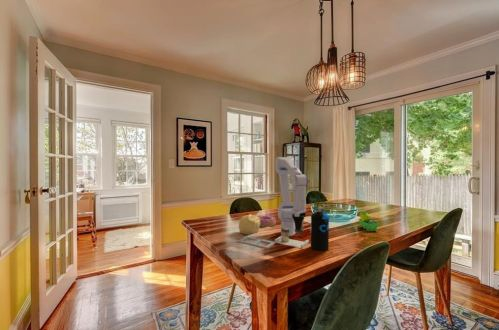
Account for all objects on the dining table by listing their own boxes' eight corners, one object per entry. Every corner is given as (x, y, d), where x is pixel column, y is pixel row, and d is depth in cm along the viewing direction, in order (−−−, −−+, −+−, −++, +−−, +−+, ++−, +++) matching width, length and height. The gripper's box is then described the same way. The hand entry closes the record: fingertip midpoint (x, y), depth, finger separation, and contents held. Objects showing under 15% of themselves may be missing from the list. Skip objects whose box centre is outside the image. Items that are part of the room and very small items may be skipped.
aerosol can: (306, 251, 108) (307, 207, 108) (316, 246, 114) (316, 205, 114) (323, 256, 102) (324, 209, 102) (332, 251, 108) (333, 207, 108)
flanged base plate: (282, 240, 123) (282, 235, 123) (309, 245, 115) (309, 240, 115) (274, 245, 115) (274, 239, 115) (302, 251, 108) (302, 245, 108)
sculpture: (256, 237, 127) (256, 217, 127) (235, 235, 131) (235, 215, 131) (262, 231, 138) (262, 213, 138) (242, 229, 142) (243, 211, 142)
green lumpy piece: (379, 231, 141) (379, 212, 141) (364, 231, 141) (364, 212, 141) (370, 226, 152) (370, 209, 152) (356, 226, 153) (356, 208, 153)
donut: (257, 221, 163) (257, 214, 163) (278, 223, 158) (278, 216, 158) (250, 226, 150) (250, 218, 150) (272, 229, 145) (272, 220, 145)
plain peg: (283, 239, 120) (283, 227, 120) (290, 240, 118) (290, 228, 118) (279, 241, 116) (279, 229, 116) (287, 243, 114) (287, 230, 114)
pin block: (247, 240, 122) (247, 236, 122) (275, 246, 114) (275, 242, 114) (237, 245, 115) (238, 240, 115) (267, 251, 107) (267, 247, 107)
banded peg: (296, 230, 116) (296, 217, 116) (304, 231, 114) (304, 219, 114) (293, 232, 113) (293, 219, 113) (301, 233, 111) (301, 220, 110)
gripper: (293, 197, 121) (293, 224, 121) (288, 201, 108) (287, 231, 108) (307, 198, 119) (307, 225, 119) (303, 202, 105) (303, 233, 105)
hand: (299, 228), depth 113 cm, fingers closed on banded peg, 4 cm apart
